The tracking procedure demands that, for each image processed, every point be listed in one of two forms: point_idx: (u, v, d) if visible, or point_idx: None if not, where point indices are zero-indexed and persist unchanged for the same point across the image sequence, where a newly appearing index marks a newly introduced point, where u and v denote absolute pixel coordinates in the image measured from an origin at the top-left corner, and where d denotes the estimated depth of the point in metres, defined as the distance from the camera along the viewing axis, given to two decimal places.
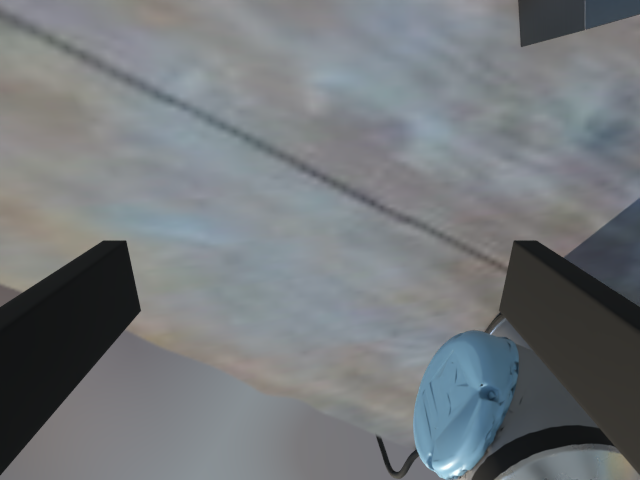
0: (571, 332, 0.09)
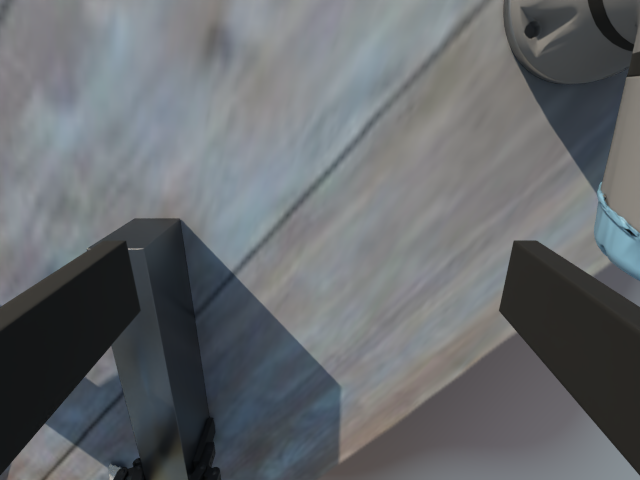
0: (571, 332, 0.09)
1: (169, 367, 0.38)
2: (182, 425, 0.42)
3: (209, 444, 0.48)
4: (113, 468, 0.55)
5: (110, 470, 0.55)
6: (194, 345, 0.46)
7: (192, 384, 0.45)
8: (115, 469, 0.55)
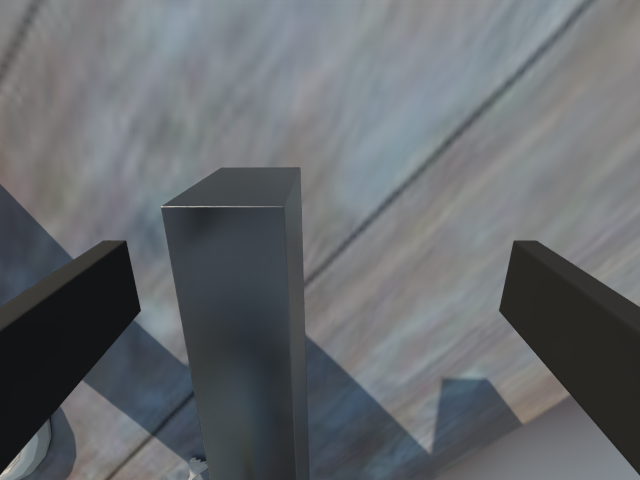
0: (571, 332, 0.09)
1: (296, 437, 0.20)
2: None
3: None
4: (195, 463, 0.47)
5: (191, 465, 0.47)
6: (305, 381, 0.28)
7: (304, 446, 0.27)
8: (197, 464, 0.47)
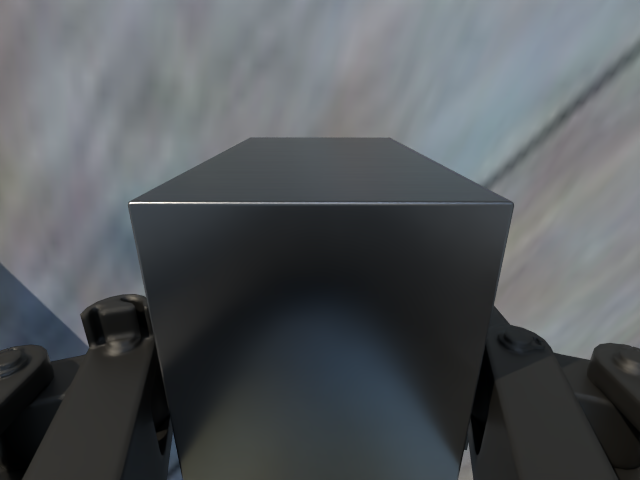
0: None
1: None
2: None
3: None
4: None
5: None
6: None
7: None
8: None
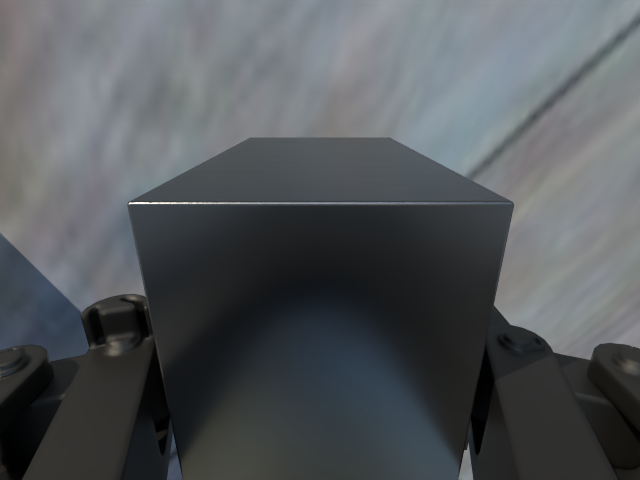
0: None
1: None
2: None
3: None
4: None
5: None
6: None
7: None
8: None
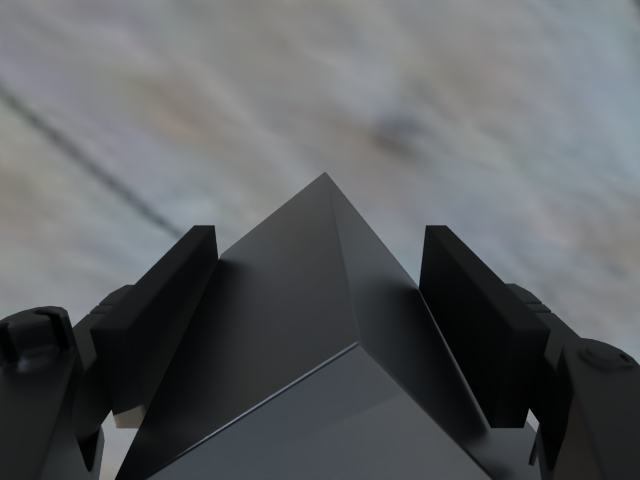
0: (453, 300, 0.11)
1: None
2: None
3: None
4: None
5: None
6: None
7: None
8: None
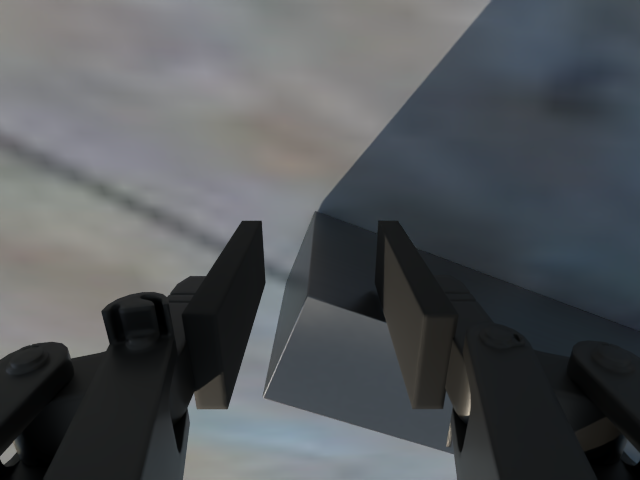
0: (392, 291, 0.11)
1: None
2: None
3: None
4: None
5: None
6: (571, 313, 0.22)
7: None
8: None
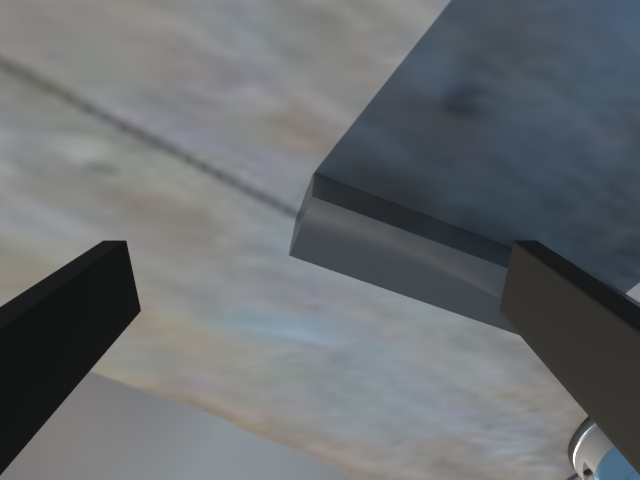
0: (571, 332, 0.09)
1: (473, 253, 0.29)
2: None
3: None
4: None
5: None
6: (468, 234, 0.36)
7: None
8: None
